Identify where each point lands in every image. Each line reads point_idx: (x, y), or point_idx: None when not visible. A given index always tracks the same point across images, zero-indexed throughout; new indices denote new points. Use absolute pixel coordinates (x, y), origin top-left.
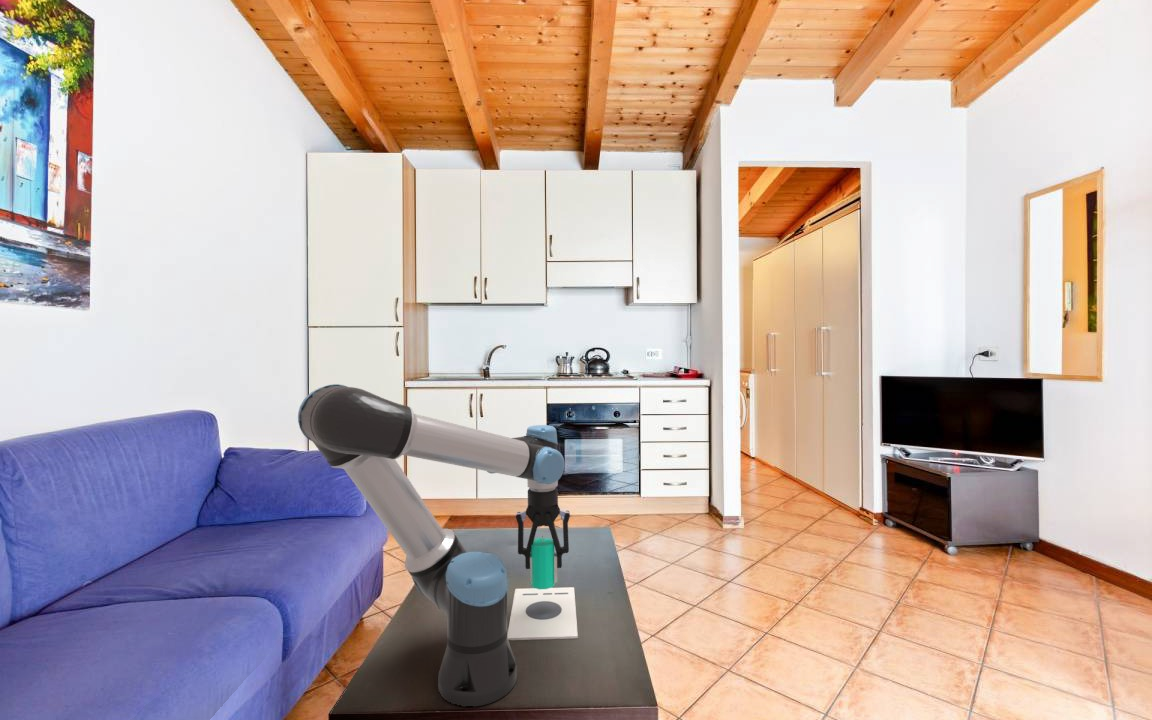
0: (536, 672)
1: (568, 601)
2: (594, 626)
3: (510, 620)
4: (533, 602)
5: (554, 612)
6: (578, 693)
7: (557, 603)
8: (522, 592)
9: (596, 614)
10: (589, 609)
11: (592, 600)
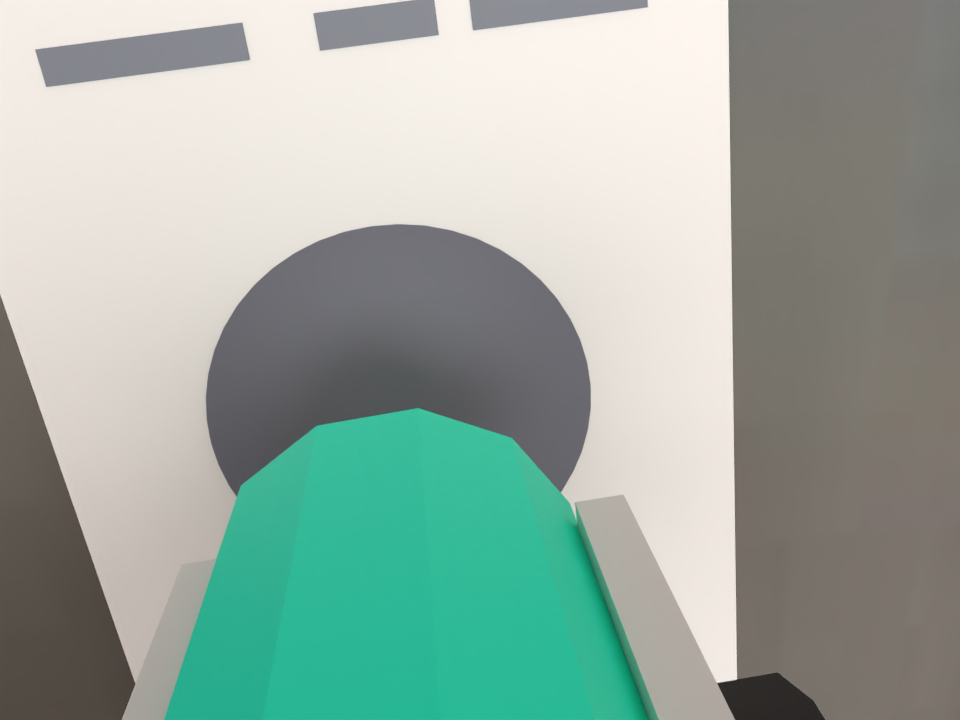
0: None
1: (655, 201)
2: (873, 567)
3: (120, 619)
4: (248, 263)
5: (521, 445)
6: None
7: (533, 259)
8: (14, 3)
9: (917, 385)
10: (863, 300)
11: (918, 100)
